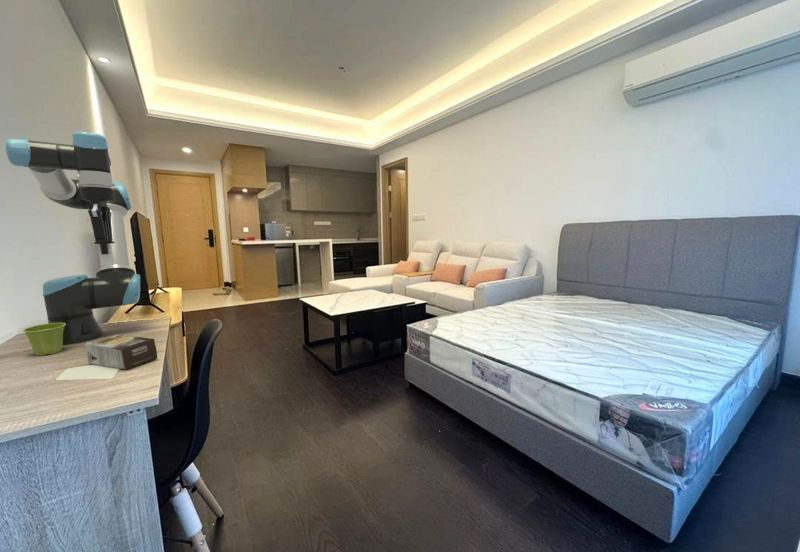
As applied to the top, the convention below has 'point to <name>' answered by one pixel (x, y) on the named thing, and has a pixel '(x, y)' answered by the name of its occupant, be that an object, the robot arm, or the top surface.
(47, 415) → the top surface
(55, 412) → the top surface
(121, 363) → the coffee box
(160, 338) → the top surface
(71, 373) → the cream flat rectangular sheet
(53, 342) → the plant pot
